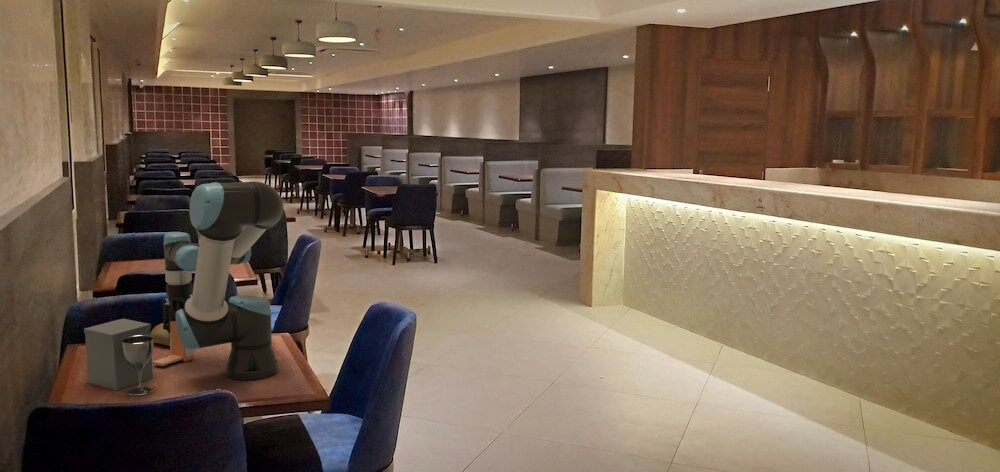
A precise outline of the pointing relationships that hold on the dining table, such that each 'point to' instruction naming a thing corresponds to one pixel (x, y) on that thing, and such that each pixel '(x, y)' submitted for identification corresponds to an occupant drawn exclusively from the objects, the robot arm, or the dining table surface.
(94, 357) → the gray box
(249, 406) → the dining table surface
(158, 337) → the bread roll
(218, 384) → the dining table surface
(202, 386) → the dining table surface
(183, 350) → the l-shaped block
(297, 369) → the dining table surface
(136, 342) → the wine glass
